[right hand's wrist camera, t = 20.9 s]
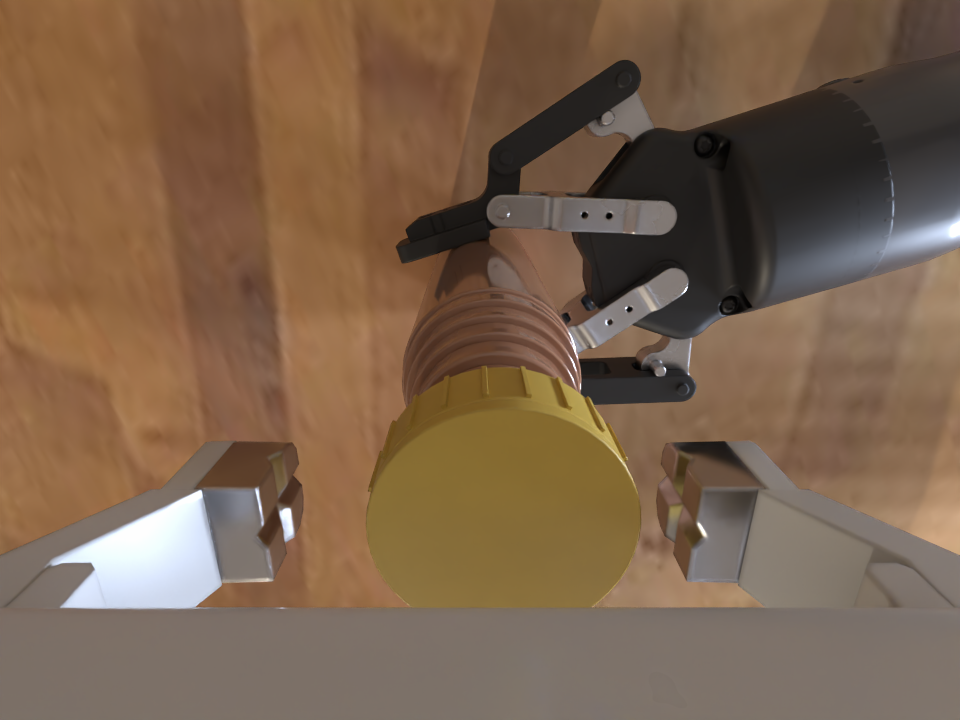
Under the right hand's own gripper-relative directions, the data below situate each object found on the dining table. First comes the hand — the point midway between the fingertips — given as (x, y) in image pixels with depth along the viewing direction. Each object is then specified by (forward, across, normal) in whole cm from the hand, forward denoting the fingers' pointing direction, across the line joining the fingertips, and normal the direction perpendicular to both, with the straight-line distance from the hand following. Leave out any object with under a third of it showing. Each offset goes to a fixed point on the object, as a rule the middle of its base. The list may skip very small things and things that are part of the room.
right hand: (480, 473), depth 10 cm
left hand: (+14, -2, -1) cm, 14 cm away
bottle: (+20, 0, 0) cm, 20 cm away
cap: (-2, 0, 0) cm, 2 cm away
